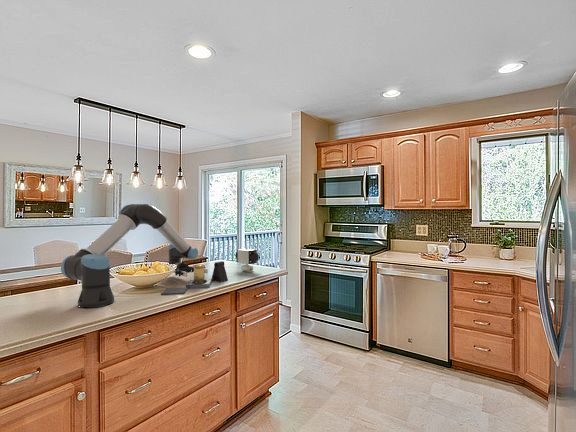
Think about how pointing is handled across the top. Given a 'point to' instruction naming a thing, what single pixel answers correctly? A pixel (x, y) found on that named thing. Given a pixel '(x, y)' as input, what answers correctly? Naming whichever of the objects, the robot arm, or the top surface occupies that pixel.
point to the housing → (199, 284)
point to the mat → (175, 291)
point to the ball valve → (247, 258)
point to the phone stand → (219, 272)
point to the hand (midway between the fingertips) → (197, 272)
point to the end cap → (199, 273)
